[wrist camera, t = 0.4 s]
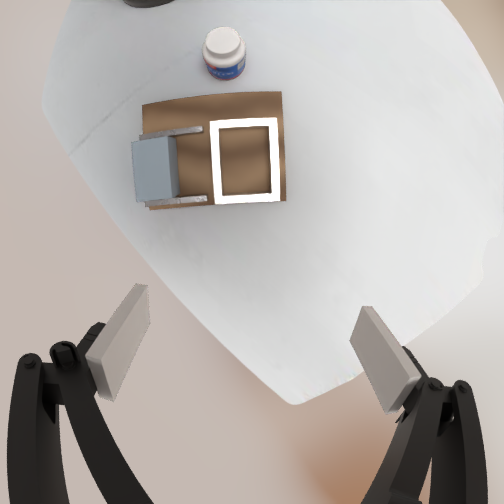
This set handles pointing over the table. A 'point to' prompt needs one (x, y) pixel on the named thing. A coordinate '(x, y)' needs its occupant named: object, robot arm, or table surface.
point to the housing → (155, 168)
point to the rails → (180, 198)
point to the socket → (217, 160)
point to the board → (232, 142)
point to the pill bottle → (224, 53)
